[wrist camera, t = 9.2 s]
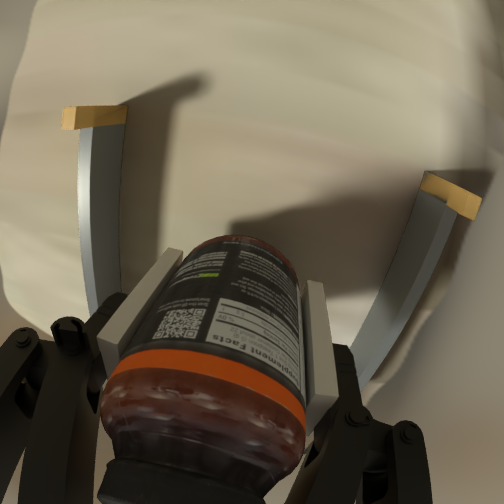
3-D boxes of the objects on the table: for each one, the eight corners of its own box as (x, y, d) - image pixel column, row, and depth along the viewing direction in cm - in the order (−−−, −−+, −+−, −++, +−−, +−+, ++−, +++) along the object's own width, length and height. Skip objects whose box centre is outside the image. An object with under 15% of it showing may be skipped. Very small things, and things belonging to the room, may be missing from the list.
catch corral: (116, 105, 13) (63, 107, 9) (436, 175, 12) (482, 198, 8) (116, 332, 20) (90, 371, 16) (338, 384, 20) (343, 432, 16)
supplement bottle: (236, 347, 16) (192, 541, 6) (159, 276, 14) (36, 469, 4) (324, 295, 14) (348, 542, 4) (243, 203, 12) (111, 490, 2)
